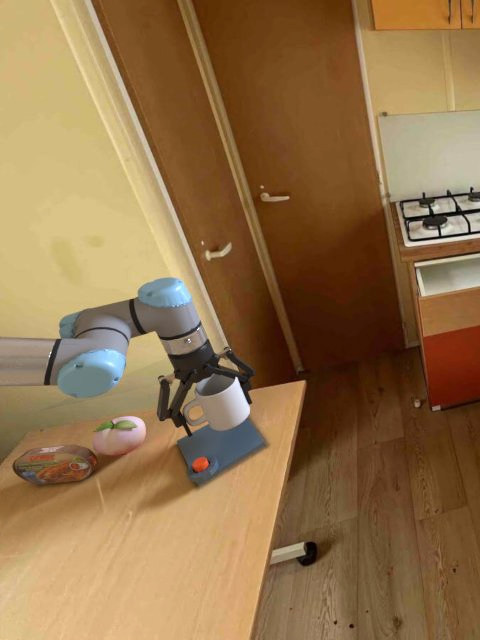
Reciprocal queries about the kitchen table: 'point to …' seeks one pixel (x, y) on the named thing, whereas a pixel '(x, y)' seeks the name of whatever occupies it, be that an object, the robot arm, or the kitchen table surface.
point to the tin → (55, 464)
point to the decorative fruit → (119, 435)
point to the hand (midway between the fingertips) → (220, 416)
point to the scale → (219, 449)
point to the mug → (219, 403)
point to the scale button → (200, 464)
